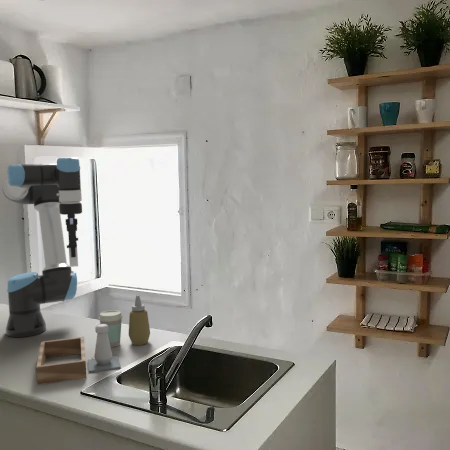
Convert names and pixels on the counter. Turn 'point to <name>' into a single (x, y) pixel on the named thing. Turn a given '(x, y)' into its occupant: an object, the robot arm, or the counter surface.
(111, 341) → the coffee cup
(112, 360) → the mat
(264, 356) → the counter surface
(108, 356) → the salt shaker
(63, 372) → the crate
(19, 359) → the counter surface
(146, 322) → the squeeze bottle
